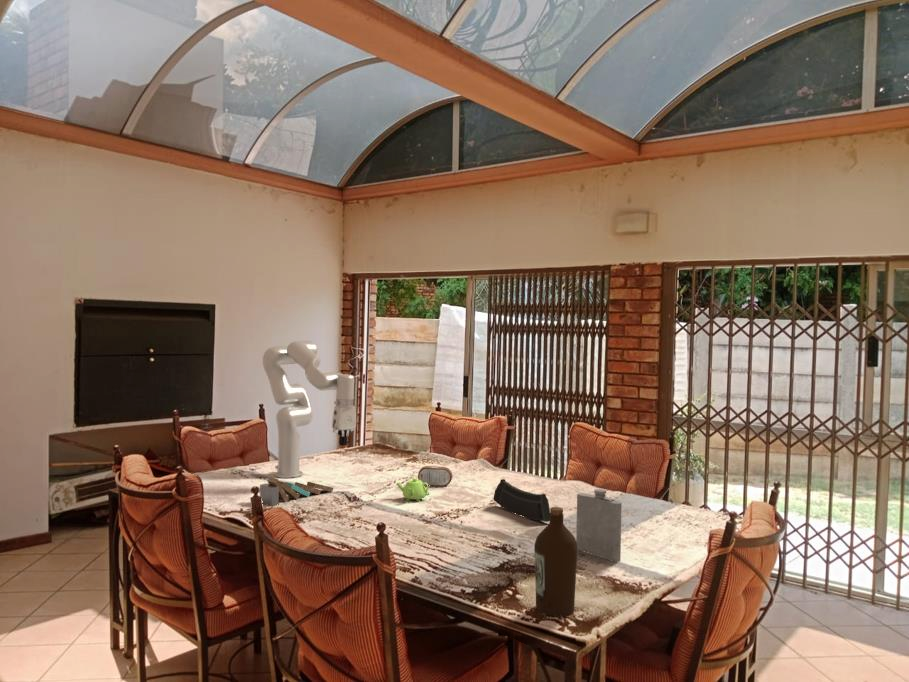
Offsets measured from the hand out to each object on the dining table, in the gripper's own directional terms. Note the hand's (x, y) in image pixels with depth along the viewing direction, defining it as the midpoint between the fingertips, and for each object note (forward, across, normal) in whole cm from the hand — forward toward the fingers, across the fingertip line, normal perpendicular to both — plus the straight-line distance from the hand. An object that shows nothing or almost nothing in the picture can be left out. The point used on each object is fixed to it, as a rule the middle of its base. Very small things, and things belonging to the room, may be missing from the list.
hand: (343, 445), depth 302 cm
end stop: (+18, -40, -5) cm, 44 cm away
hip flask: (+13, -2, -128) cm, 129 cm away
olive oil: (+13, -47, -142) cm, 150 cm away
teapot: (+16, +5, -39) cm, 43 cm away
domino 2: (+17, -28, -5) cm, 33 cm away
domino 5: (+17, -10, -4) cm, 20 cm away
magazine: (+15, +17, -84) cm, 87 cm away
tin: (+17, +29, -29) cm, 44 cm away
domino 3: (+17, -22, -5) cm, 28 cm away
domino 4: (+17, -17, -4) cm, 24 cm away
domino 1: (+17, -33, -5) cm, 38 cm away
